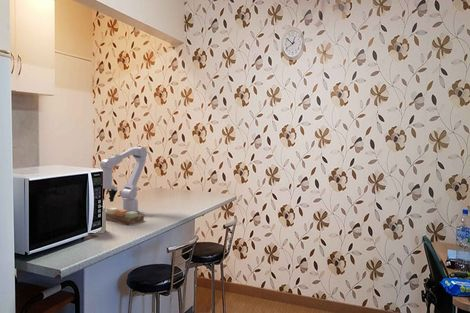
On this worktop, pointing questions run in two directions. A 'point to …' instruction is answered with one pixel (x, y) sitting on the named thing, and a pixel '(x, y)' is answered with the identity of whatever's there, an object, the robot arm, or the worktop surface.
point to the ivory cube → (111, 210)
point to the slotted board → (124, 219)
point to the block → (131, 214)
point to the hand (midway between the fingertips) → (106, 200)
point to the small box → (103, 221)
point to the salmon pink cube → (121, 212)
